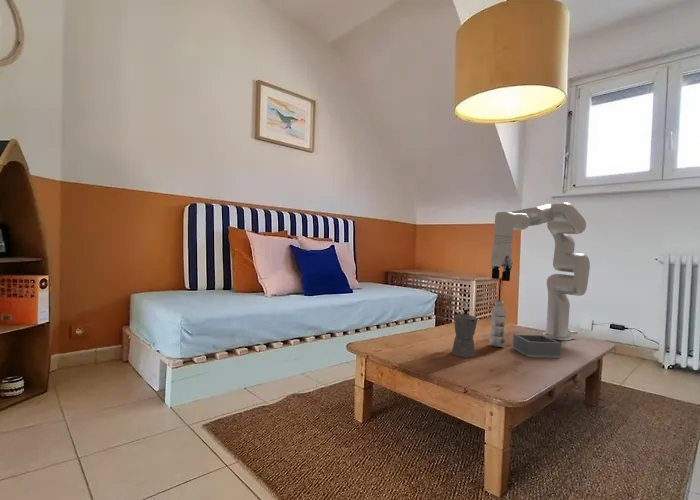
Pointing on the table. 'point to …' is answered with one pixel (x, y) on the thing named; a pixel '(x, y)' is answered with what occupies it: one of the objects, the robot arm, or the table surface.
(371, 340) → the table surface
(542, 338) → the grey open box
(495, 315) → the plastic bottle
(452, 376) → the table surface
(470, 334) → the coffeepot
